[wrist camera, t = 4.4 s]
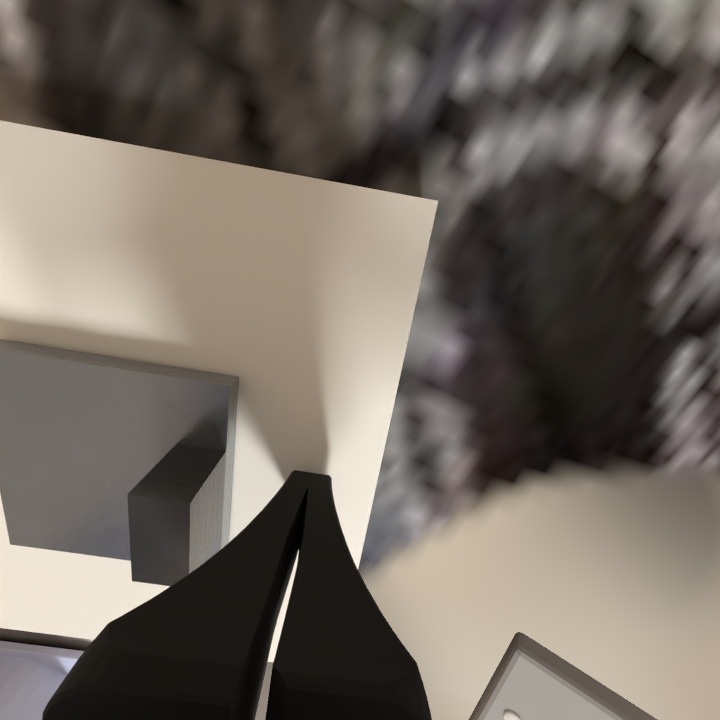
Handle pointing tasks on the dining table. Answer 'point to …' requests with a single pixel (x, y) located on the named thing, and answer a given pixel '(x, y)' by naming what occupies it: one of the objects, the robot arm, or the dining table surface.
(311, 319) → the socket plate
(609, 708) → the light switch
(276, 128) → the dining table surface
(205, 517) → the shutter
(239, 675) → the robot arm
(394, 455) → the dining table surface
